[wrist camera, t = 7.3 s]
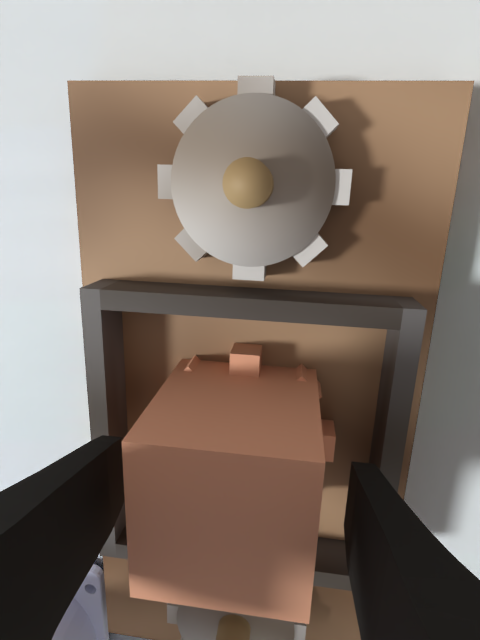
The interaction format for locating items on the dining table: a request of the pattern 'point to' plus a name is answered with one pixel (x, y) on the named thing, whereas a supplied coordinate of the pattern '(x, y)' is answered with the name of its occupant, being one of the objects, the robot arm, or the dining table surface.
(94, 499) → the robot arm
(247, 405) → the tabbed peach cube
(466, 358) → the dining table surface
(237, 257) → the gear board
